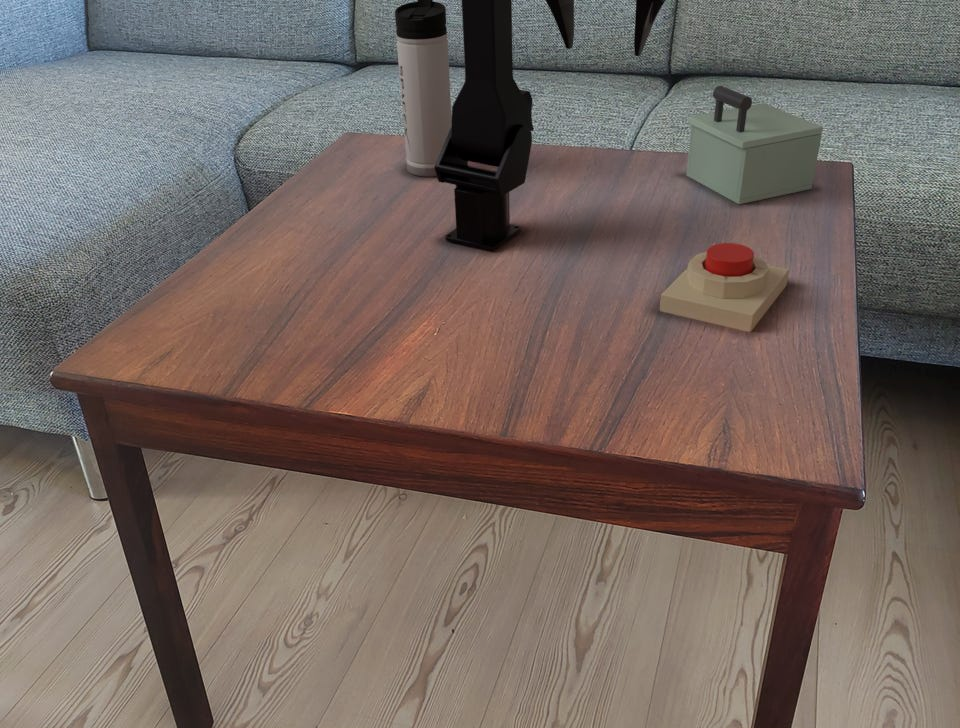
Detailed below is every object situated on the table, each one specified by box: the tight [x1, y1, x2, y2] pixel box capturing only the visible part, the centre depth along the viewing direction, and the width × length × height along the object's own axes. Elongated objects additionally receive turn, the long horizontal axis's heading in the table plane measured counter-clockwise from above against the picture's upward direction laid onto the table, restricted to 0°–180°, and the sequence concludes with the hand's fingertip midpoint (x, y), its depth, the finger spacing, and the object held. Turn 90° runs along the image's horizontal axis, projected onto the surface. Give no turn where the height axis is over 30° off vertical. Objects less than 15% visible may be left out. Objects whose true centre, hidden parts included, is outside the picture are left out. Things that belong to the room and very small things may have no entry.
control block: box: [659, 251, 790, 333], centre depth 90 cm, size 11×9×4 cm
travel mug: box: [394, 0, 452, 178], centre depth 118 cm, size 6×7×20 cm
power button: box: [705, 242, 755, 277], centre depth 89 cm, size 4×4×2 cm
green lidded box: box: [685, 124, 823, 205], centre depth 114 cm, size 11×11×7 cm
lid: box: [687, 85, 824, 149], centre depth 111 cm, size 11×11×5 cm
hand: (603, 51), depth 114 cm, fingers open, 9 cm apart
